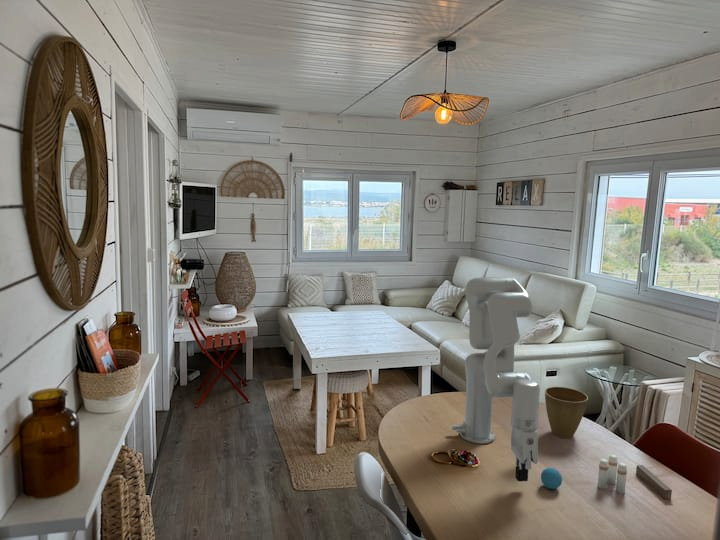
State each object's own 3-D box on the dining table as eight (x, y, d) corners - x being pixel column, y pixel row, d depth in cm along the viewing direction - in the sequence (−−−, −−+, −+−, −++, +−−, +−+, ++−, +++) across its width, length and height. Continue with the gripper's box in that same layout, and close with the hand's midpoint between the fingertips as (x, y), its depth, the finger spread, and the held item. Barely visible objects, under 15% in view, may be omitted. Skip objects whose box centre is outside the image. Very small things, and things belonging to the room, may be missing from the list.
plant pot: (541, 439, 183) (544, 397, 181) (542, 423, 197) (545, 384, 195) (586, 446, 178) (589, 404, 176) (583, 429, 192) (586, 389, 190)
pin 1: (609, 484, 154) (611, 458, 153) (605, 480, 156) (607, 454, 155) (617, 484, 154) (619, 458, 153) (612, 479, 156) (615, 454, 155)
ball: (545, 493, 149) (546, 474, 148) (537, 482, 154) (538, 463, 154) (564, 492, 149) (566, 474, 148) (556, 481, 155) (557, 463, 154)
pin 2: (618, 493, 149) (620, 467, 148) (613, 489, 151) (616, 462, 150) (626, 493, 149) (629, 466, 148) (621, 488, 151) (624, 462, 150)
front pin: (600, 489, 151) (602, 462, 150) (595, 484, 154) (598, 458, 153) (608, 489, 151) (610, 462, 150) (603, 484, 154) (605, 458, 153)
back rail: (664, 499, 146) (665, 490, 146) (635, 474, 160) (636, 465, 160) (670, 499, 146) (671, 489, 146) (641, 473, 160) (642, 465, 160)
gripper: (547, 432, 141) (543, 493, 143) (527, 411, 156) (524, 467, 158) (521, 432, 141) (518, 493, 143) (503, 411, 156) (501, 467, 158)
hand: (521, 479), depth 150 cm, fingers closed
